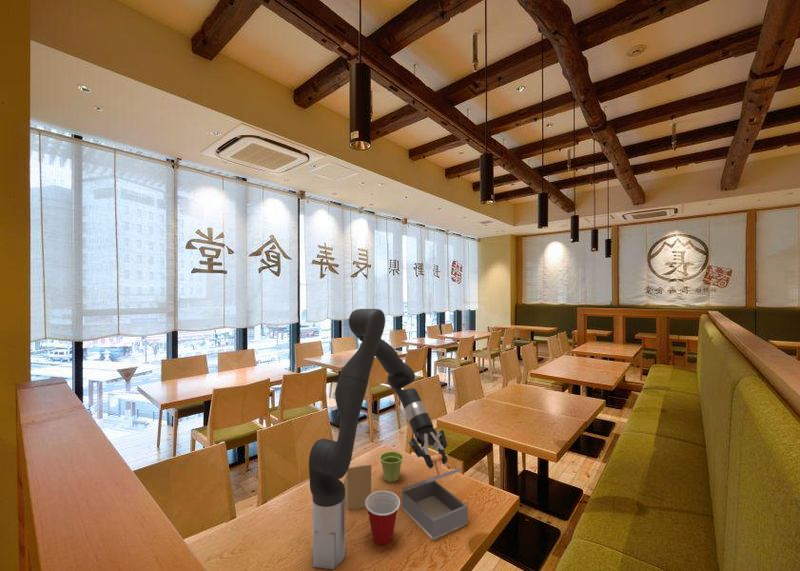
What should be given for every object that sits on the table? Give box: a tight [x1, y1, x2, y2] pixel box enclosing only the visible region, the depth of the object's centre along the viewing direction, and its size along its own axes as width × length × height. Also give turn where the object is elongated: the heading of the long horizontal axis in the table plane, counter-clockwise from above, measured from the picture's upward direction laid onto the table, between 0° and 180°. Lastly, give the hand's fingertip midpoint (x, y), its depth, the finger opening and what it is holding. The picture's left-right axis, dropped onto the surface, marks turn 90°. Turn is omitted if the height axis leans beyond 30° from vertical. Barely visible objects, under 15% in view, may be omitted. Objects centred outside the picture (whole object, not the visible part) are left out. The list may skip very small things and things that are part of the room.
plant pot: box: [379, 451, 404, 483], centre depth 145 cm, size 9×9×9 cm
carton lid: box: [401, 453, 463, 492], centre depth 124 cm, size 18×14×7 cm
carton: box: [401, 480, 469, 542], centre depth 122 cm, size 18×14×6 cm
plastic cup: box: [365, 490, 401, 546], centre depth 111 cm, size 11×11×12 cm
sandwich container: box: [343, 464, 372, 512], centre depth 133 cm, size 9×15×15 cm, turn 17°
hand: (438, 464), depth 119 cm, fingers closed on carton lid, 5 cm apart
